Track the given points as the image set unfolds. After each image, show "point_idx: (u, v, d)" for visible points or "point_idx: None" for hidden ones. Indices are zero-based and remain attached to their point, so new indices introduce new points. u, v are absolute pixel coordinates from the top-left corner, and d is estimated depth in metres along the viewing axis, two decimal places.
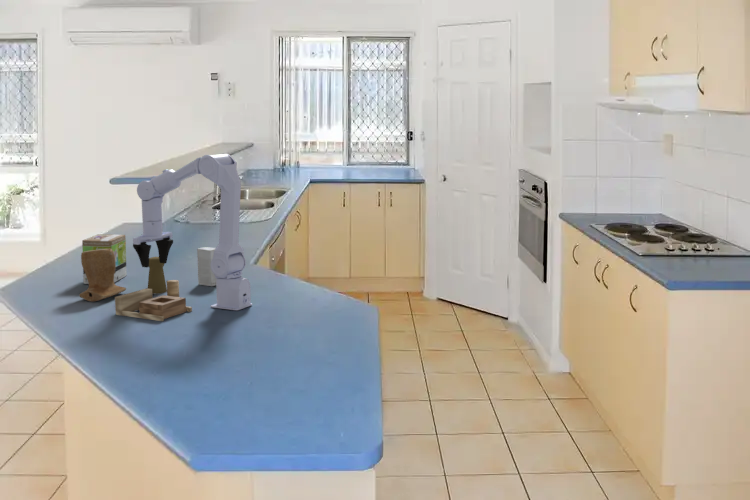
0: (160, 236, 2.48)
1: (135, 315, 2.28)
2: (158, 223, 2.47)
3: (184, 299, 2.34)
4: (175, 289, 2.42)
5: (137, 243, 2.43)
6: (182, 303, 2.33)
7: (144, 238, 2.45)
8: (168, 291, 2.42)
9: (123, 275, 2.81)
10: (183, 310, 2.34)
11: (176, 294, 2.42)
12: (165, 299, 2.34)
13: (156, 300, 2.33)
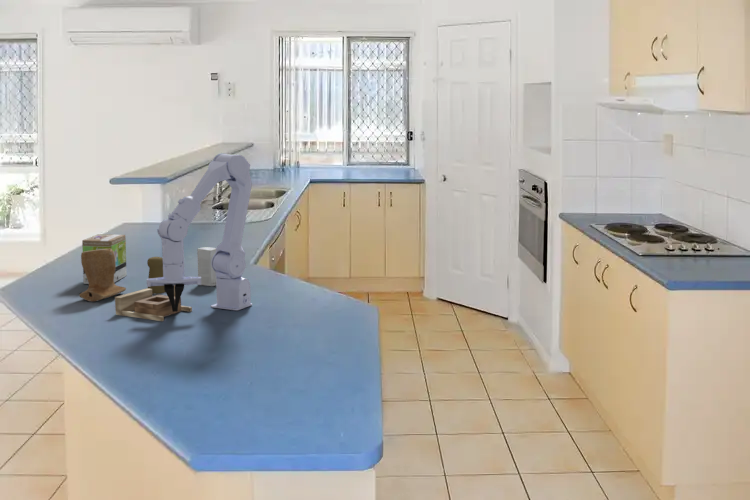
0: (173, 281, 2.26)
1: (135, 315, 2.28)
2: (171, 267, 2.25)
3: None
4: None
5: (147, 285, 2.27)
6: None
7: (155, 281, 2.26)
8: None
9: (123, 275, 2.81)
10: (178, 309, 2.35)
11: None
12: (160, 298, 2.35)
13: (151, 299, 2.34)
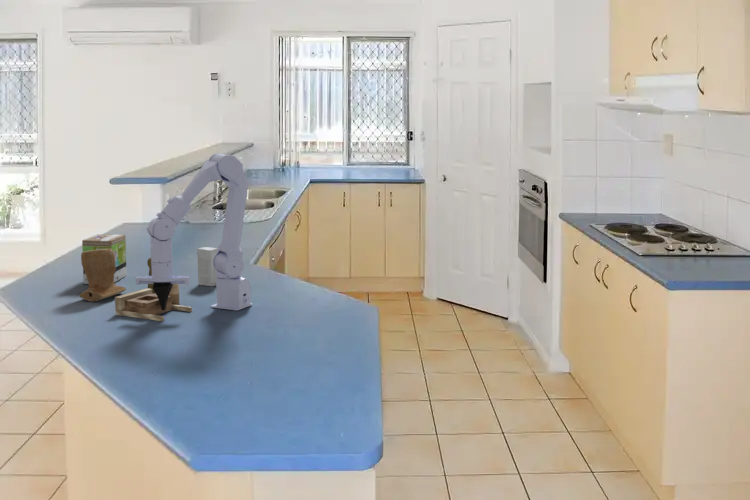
0: (159, 280, 2.27)
1: (135, 315, 2.28)
2: (158, 265, 2.27)
3: (170, 297, 2.36)
4: (175, 289, 2.42)
5: (136, 282, 2.30)
6: (168, 301, 2.35)
7: (143, 279, 2.29)
8: None
9: (123, 275, 2.81)
10: (169, 308, 2.36)
11: (176, 294, 2.42)
12: (151, 297, 2.36)
13: (142, 298, 2.35)
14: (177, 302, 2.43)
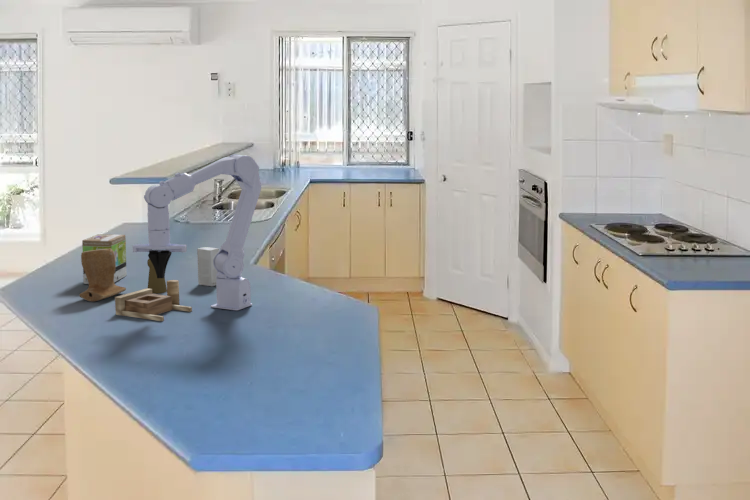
0: (156, 247, 2.26)
1: (135, 315, 2.28)
2: (154, 233, 2.26)
3: (170, 297, 2.36)
4: (175, 289, 2.42)
5: (133, 250, 2.29)
6: (168, 301, 2.35)
7: (140, 246, 2.28)
8: (168, 291, 2.42)
9: (123, 275, 2.81)
10: (169, 308, 2.36)
11: (176, 294, 2.42)
12: (151, 297, 2.36)
13: (142, 298, 2.35)
14: (177, 302, 2.43)
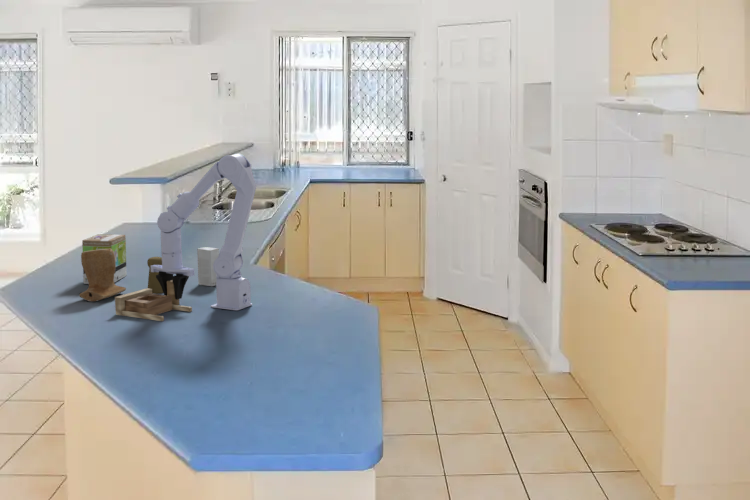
0: (165, 269, 2.39)
1: (135, 315, 2.28)
2: (164, 256, 2.39)
3: (170, 297, 2.36)
4: None
5: None
6: (168, 301, 2.35)
7: (155, 267, 2.43)
8: (168, 291, 2.42)
9: (123, 275, 2.81)
10: (169, 308, 2.36)
11: None
12: (151, 297, 2.36)
13: (142, 298, 2.35)
14: (177, 302, 2.43)
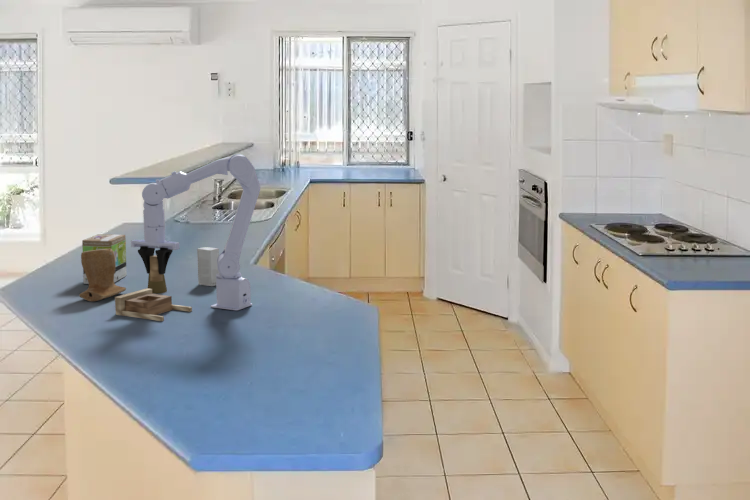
0: (148, 243, 2.32)
1: (135, 315, 2.28)
2: (147, 229, 2.31)
3: (170, 297, 2.36)
4: None
5: None
6: (168, 301, 2.35)
7: (136, 242, 2.35)
8: (151, 266, 2.34)
9: (123, 275, 2.81)
10: (169, 308, 2.36)
11: None
12: (151, 297, 2.36)
13: (142, 298, 2.35)
14: (161, 278, 2.35)
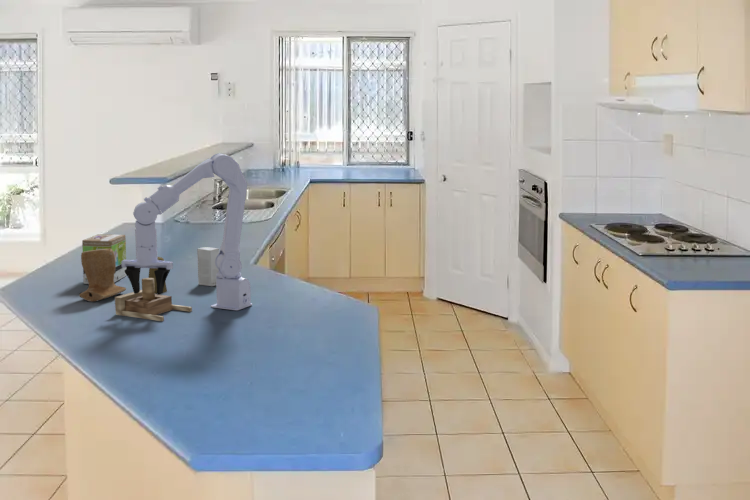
0: (142, 264, 2.29)
1: (135, 315, 2.28)
2: (140, 249, 2.29)
3: (170, 297, 2.36)
4: (152, 287, 2.32)
5: None
6: (168, 301, 2.35)
7: (128, 262, 2.32)
8: (144, 289, 2.32)
9: (123, 275, 2.81)
10: (169, 308, 2.36)
11: (153, 292, 2.33)
12: None
13: (142, 298, 2.35)
14: None
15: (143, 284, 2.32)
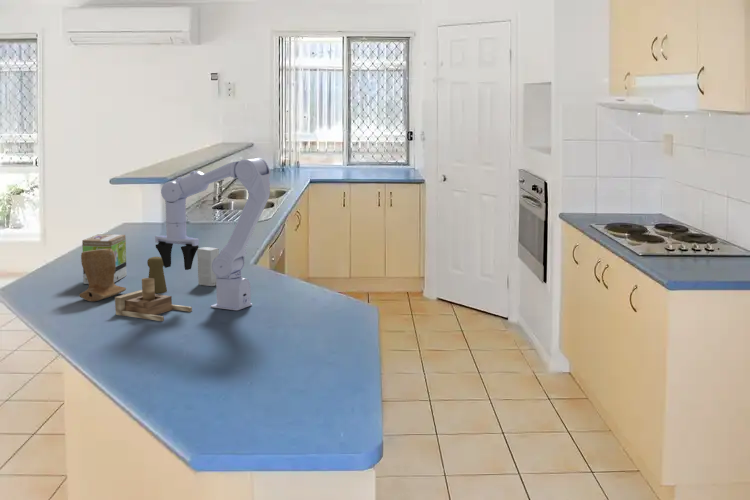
0: (170, 239, 2.40)
1: (135, 315, 2.28)
2: (168, 225, 2.40)
3: (170, 297, 2.36)
4: (152, 287, 2.32)
5: None
6: (168, 301, 2.35)
7: (160, 237, 2.44)
8: (144, 289, 2.32)
9: (123, 275, 2.81)
10: (169, 308, 2.36)
11: (153, 292, 2.33)
12: None
13: (142, 298, 2.35)
14: None
15: (143, 284, 2.32)
